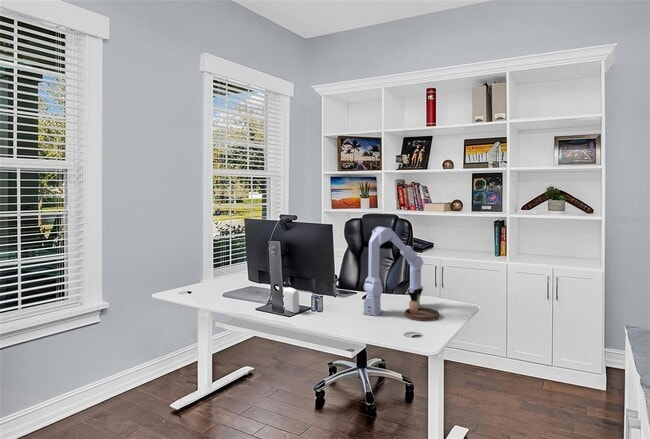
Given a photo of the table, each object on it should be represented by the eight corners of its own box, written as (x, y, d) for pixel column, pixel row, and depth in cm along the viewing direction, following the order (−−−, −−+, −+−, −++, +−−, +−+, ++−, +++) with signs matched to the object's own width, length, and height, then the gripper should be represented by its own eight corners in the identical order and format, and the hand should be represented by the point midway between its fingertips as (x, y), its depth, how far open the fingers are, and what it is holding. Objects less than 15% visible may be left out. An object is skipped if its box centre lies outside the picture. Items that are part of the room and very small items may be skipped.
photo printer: (282, 309, 243) (281, 286, 242) (289, 308, 246) (288, 285, 245) (293, 314, 235) (293, 290, 234) (300, 312, 238) (299, 288, 237)
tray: (434, 322, 216) (434, 318, 216) (400, 318, 224) (400, 314, 224) (442, 313, 230) (442, 309, 230) (410, 309, 238) (410, 306, 238)
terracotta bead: (416, 315, 226) (416, 303, 226) (408, 314, 228) (408, 302, 228) (419, 313, 230) (419, 301, 229) (411, 312, 232) (411, 300, 231)
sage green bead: (418, 307, 242) (418, 296, 242) (410, 306, 244) (410, 295, 244) (420, 305, 246) (420, 294, 245) (412, 304, 248) (412, 293, 247)
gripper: (418, 281, 235) (419, 307, 236) (426, 275, 248) (426, 300, 249) (405, 280, 239) (405, 305, 240) (413, 274, 251) (414, 299, 253)
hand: (415, 303), depth 245 cm, fingers closed on sage green bead, 4 cm apart
